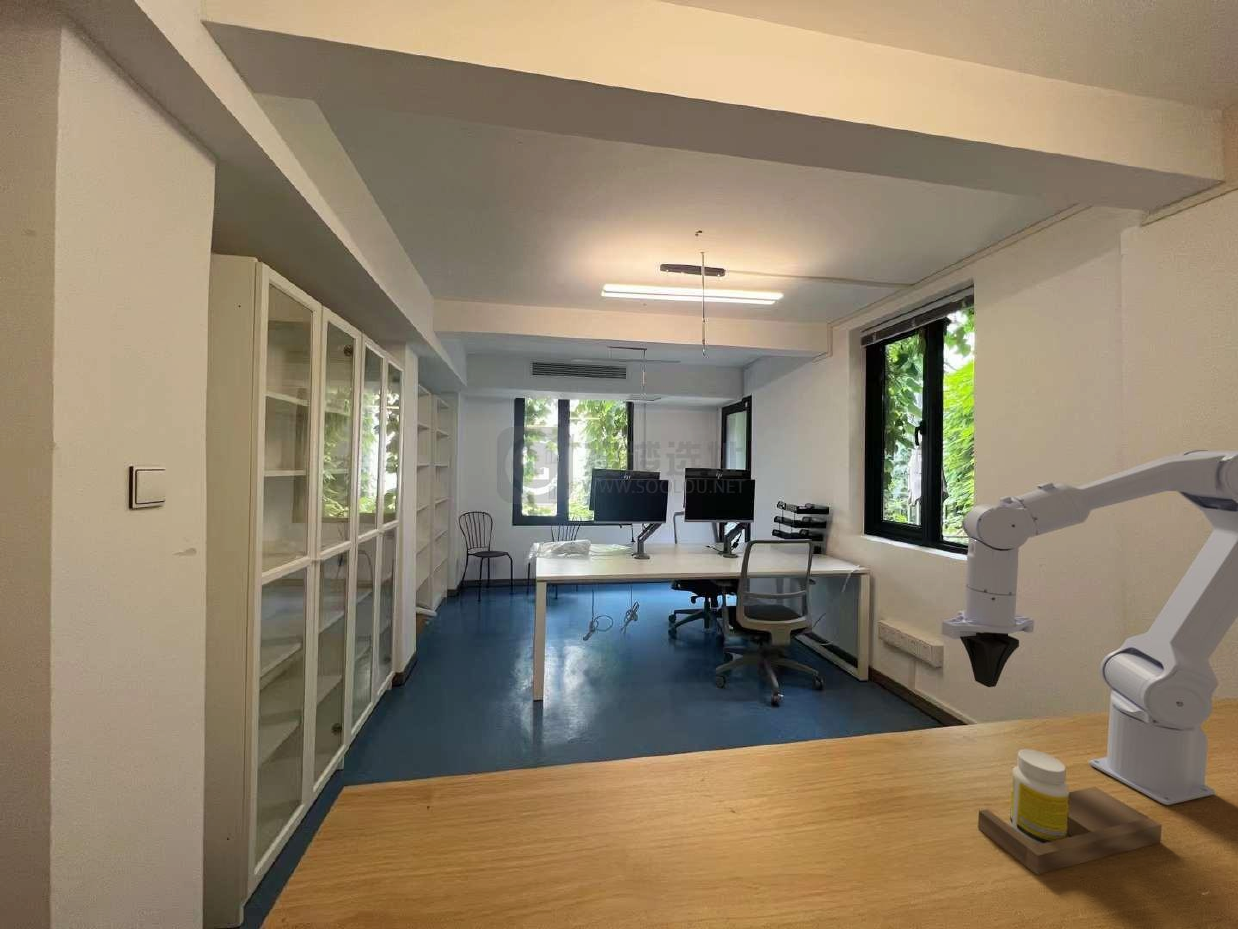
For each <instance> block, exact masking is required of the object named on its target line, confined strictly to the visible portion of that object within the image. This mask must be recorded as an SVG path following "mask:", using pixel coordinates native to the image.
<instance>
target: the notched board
mask: <svg viewBox="0 0 1238 929" xmlns="http://www.w3.org/2000/svg"><path fill="white" fill-rule="evenodd" d="M977 822H978V823H977V829H978V828H979V829H980V830H979V829H978V830H979V831H981V832H982V833H983V834H985V835H986V836H987V837H988V838H990V839H991V840H992V841H993V842H995V843H996V844H998V846H1000V847H1001V848H1002V849H1003V850H1005V851H1006V852H1007V853H1009V854H1010V855H1011V856H1013V858H1014V859H1016V860H1017V861H1019V862H1020V863H1021V864H1022V865H1023V866H1025V868H1027V869H1029V870H1030V871H1031V872H1032V873H1033V874H1035V875H1036V876H1038V875H1041V874H1046V873H1049V872H1055V871H1057V870H1060V869H1066V868H1069V867H1072V866H1077V865H1080V864H1084V863H1087V862H1090V861H1095V860H1099V859H1103V858H1107V857H1110V856H1114V855H1118V854H1122V853H1125V852H1126V853H1127V852H1129V851H1133V850H1137V849H1141V848H1145V847H1148V846H1152V845H1156V844H1159V843H1161V839H1162V838H1161V837H1162V828H1163V827H1162V824H1161V823H1159V822H1158V821H1156V820H1155V819H1153V818H1151V817H1149V816H1148V815H1146V814H1144V813H1142V812H1140V811H1138V810H1137V809H1135V808H1133V807H1131V806H1129V805H1128V804H1126V803H1124V802H1122V801H1121V800H1119V799H1117V798H1115V797H1114V796H1112V795H1111V794H1108V793H1107V792H1105V791H1103V790H1102V789H1101V788H1100V789H1099V788H1098V787H1096V786H1093V787H1092V786H1091V787H1087V788H1084V789H1083V788H1082V789H1078V790H1073V791H1072V790H1071V791H1069V808H1068V826H1067V838H1064V839H1060V840H1055V841H1051V842H1047V843H1043V844H1039V845H1035V844H1034V843H1032V842H1031V841H1030V840H1028V839H1027V838H1026V837H1024V836H1023V835H1021V834H1020V833H1019V832H1017V831H1016V830H1015V829H1013V827H1012V826H1011V825H1009V823H1007V822H1005V821H1004V820H1003V819H1001V818H1000V817H999V816H997V815H995V813H993V812H992V811H990V810H989V809H987V808H986V809H981V810H978V819H977ZM1068 836H1069V837H1068Z"/></svg>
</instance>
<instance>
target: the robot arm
mask: <svg viewBox="0 0 1238 929" xmlns="http://www.w3.org/2000/svg"><path fill="white" fill-rule="evenodd" d="M1036 488H1037V489H1036V490H1034V491H1030V492H1027V493H1023V494H1021V495H1020V494H1019V495H1017V496H1014V497H1011V496H1009V495H1004V496H1002V497H1000V498H999V503H998V505H996V504H991V503H982V504H978V505H976V506H974V507H972V508H971V509H970V511H968V512H967V513H966V515H965V516H964V519H963V520H961V526H962V530H963V531H964V533H965V535H966V536H967V537H968V547H967V548H968V549H967V554H966V555H967V556H966V574H965V591H964V609H963V610H959V611H957V616H956V617H953V618H951V619H946V620H942V621H941V635H943V636H944V637H945V636H946V637H948V638H950V639H953V640H960V641H961V642H962V644H963V646H964V648H965V650H966V652H967V655H968V658H969V661H970V662H969V663H970V665H971V669H972V672H973V678H974V681H975V682H977V683H978V684H980V685H983V686H985V687H987V688H993V687H994V688H995V687H996V686H997V684H998V681H999V679H1000V677H1001V674H1002V672H1003V670H1004V667H1005V665H1006V663H1007V661H1008V660H1009V659H1010V657H1011V656H1012V654H1013V653H1014V652H1015V651H1016V650H1017V649H1018V648H1019V647H1020V640H1019V639H1018V638H1016V637H1014V636H1010V635H1009V634H1014V633H1017V632H1023V633H1027V634H1028V633H1034V626H1035V619H1034V618H1031V617H1029V616H1028V617H1027V616H1024V615H1022V614H1016V608H1017V607H1016V606H1017V590H1018V589H1017V588H1018V573H1019V572H1018V571H1019V570H1018V569H1019V548H1020V547H1022V546H1023V545H1024V544H1025V543H1026V542H1027V541H1028V539H1029V538H1033V537H1034V538H1035V537H1038V536H1041V535H1044V534H1048V533H1050V532H1051V533H1052V532H1054V531H1058V530H1061V529H1065V528H1068V527H1073V526H1076V525H1078V524H1079V525H1080V524H1083V523H1085V522H1086V520H1087V519H1088V517H1089V516H1090V514H1091V512H1092V511H1093V510H1097V509H1099V508H1104V507H1108V506H1112V505H1116V504H1120V503H1125V502H1127V501H1133V500H1136V499H1141V498H1143V497H1147V496H1148V497H1149V496H1151V495H1152V496H1153V495H1156V494H1160V493H1163V492H1177V493H1178V494H1179V495H1181V496H1182V497H1183V498H1184V499H1186V500H1188V501H1189V502H1190V503H1191V504H1192V505H1194V506H1195V507H1196V508H1198V509H1199V510H1200V511H1202V513H1203V514H1204V515H1205V517H1206V518H1207V520H1208V521H1209V523H1210V524H1211V526H1212V527H1213V531H1212V532H1211V534H1210V536H1209V537H1208V539H1207V540H1206V542H1205V543H1204V545H1203V546H1202V548H1201V550H1200V551H1199V552H1198V553H1197V555H1196V557H1195V558H1194V560H1193V561H1192V563H1191V565H1190V566H1189V568H1188V569H1187V571H1186V573H1184V575H1183V577H1182V579H1181V580H1180V581H1179V583H1178V585H1177V586H1176V588H1175V589H1174V591H1173V593H1172V594H1171V595H1170V597H1169V599H1168V600H1167V602H1166V603H1165V605H1163V607H1162V609H1161V611H1160V612H1159V613H1158V615H1157V616H1156V618H1155V619H1154V621H1153V623H1152V624H1151V626H1150V628H1148V631H1147V632H1143V633H1142V634H1138V635H1134V636H1130V637H1128V638H1126V639H1125V641H1124V642H1123V644H1122V645H1121V646H1120V647H1119V648H1118V649H1116V650H1114V651H1112V652H1110V653H1108V654H1107V655H1106V656H1104V657H1103V658H1102V661H1101V663H1100V666H1099V672H1100V677H1101V678H1102V680H1103V682H1104V683H1105V684H1106V685H1107V686H1108V688H1110V695H1109V696H1110V699H1109V700H1110V703H1109V720H1108V733H1107V748H1106V749H1107V750H1106V751H1107V752H1106V756H1104V757H1100V758H1094V759H1090V760H1088V764H1089V765H1090V766H1092V767H1094V768H1096V769H1097V770H1099V771H1101V772H1103V773H1104V774H1106V775H1109V776H1110V777H1112V778H1114V779H1116V780H1118V781H1120V782H1121V783H1123V784H1125V785H1128V786H1129V787H1131V788H1133V789H1135V790H1137V791H1138V792H1141V793H1142V794H1144V795H1145V796H1148V797H1150V798H1151V799H1153V800H1155V801H1157V802H1158V803H1160V804H1163V805H1166V806H1170V805H1174V804H1178V803H1182V802H1187V801H1191V800H1196V799H1200V798H1203V797H1208V796H1212V795H1216V790H1215V789H1214V788H1212V787H1210V786H1208V785H1206V774H1207V773H1206V772H1207V761H1208V760H1207V759H1208V749H1209V748H1208V746H1209V745H1208V744H1209V743H1208V738H1207V735H1206V734H1205V731H1204V729H1203V728H1202V727H1201V726H1200V725H1202V724H1203V723H1205V722H1206V721H1207V720H1208V719H1209V718H1210V716H1211V714H1212V710H1213V700H1212V698H1213V695H1214V693H1215V691H1216V689H1217V687H1218V686H1219V681H1218V679H1217V678H1218V677H1216V674H1215V673H1214V671H1213V667H1212V666H1211V663H1210V662H1209V661H1210V660H1209V659H1210V657H1211V656H1212V655H1213V653H1214V652H1215V650H1216V649H1217V647H1218V646H1219V644H1220V643H1221V641H1222V640H1223V639H1224V637H1225V636H1226V634H1227V633H1228V632H1229V629H1230V628H1231V627H1232V626H1233V624H1234V623H1235V621H1236V619H1237V618H1238V450H1207V449H1193V450H1192V449H1191V450H1188V451H1184V452H1182V453H1179V454H1172V455H1167V456H1162V457H1160V458H1157V459H1155V460H1152V461H1148V462H1146V463H1143V464H1140V465H1137V466H1135V467H1132V468H1128V469H1125V470H1123V471H1119V472H1117V473H1114V474H1111V475H1109V476H1106V477H1103V478H1100V479H1097V480H1095V481H1092V482H1088V483H1085V484H1083V485H1079V486H1077V487H1074V486H1071V485H1069V484H1066V483H1061V482H1059V483H1056V484H1055V483H1053V482H1047V481H1045V482H1043V483H1039V484H1037V485H1036Z"/></svg>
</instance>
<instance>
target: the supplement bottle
mask: <svg viewBox="0 0 1238 929" xmlns="http://www.w3.org/2000/svg"><path fill="white" fill-rule="evenodd" d="M1016 764H1017V765H1015V766H1014V767H1013V769H1012V774H1011V792H1010V808H1009V824H1010V826H1011V827H1012V828H1013V829H1015V830H1016V831H1017V832H1019V833H1020V834H1021V835H1023V836H1024V837H1026V838H1027V839H1028V840H1030V841H1031V842H1032V843H1034V844H1035V845H1039V844H1043V843H1047V842H1051V841H1055V840H1060V839H1064V838H1068V834H1067V826H1068V808H1069V792H1070V789H1069V787H1068V785H1067V783H1066V781H1067V769H1066V766H1065V764H1064V763H1063V762H1062V761H1060V760H1059V759H1057V758H1056V757H1054V756H1052V755H1050V754H1048V753H1045V752H1042V751H1039V750H1036V749H1030V748H1028V749H1027V748H1025V749H1020V750H1018V751H1017V760H1016Z"/></svg>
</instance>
